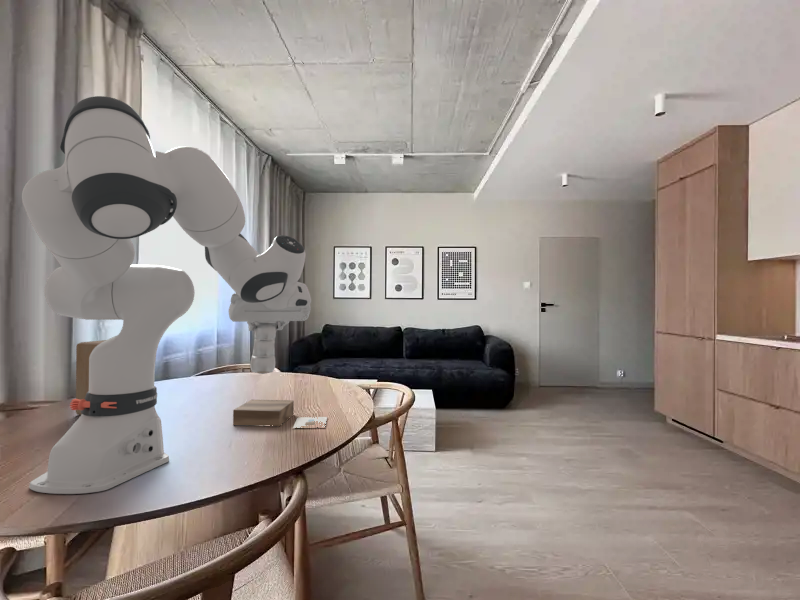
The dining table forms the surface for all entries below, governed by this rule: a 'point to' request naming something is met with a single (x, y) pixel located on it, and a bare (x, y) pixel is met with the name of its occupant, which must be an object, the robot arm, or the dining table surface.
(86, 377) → the block
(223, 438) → the dining table surface
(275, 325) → the plastic bottle
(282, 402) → the base block
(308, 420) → the page
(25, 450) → the dining table surface
